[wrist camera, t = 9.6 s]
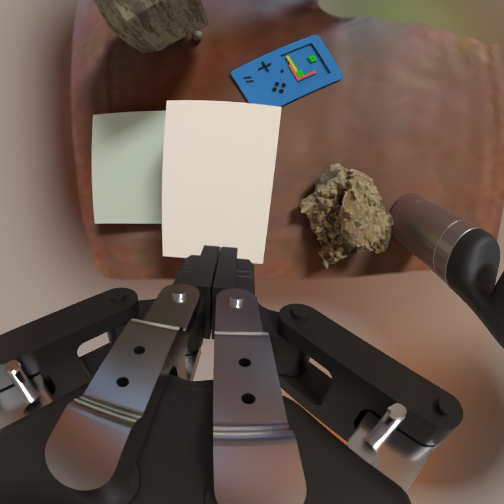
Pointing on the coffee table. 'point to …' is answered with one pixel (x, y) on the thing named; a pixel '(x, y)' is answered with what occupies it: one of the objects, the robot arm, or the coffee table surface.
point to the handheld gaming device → (287, 73)
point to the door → (128, 167)
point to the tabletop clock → (153, 21)
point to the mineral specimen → (347, 214)
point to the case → (217, 176)
